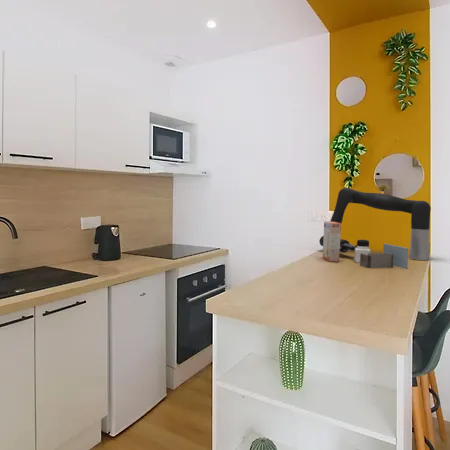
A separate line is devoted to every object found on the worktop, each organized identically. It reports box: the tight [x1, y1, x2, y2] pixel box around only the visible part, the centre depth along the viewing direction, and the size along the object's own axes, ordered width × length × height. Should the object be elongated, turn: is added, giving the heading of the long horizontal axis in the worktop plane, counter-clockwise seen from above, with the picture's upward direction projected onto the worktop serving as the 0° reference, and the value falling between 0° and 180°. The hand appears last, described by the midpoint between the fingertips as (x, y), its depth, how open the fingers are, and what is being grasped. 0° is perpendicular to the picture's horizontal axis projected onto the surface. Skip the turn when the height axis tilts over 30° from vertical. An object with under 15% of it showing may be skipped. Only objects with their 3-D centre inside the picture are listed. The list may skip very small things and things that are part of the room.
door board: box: [382, 243, 409, 270], centre depth 193 cm, size 1×18×10 cm, turn 11°
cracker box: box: [322, 221, 342, 263], centre depth 206 cm, size 14×6×21 cm, turn 179°
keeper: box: [359, 252, 394, 269], centre depth 189 cm, size 13×8×7 cm, turn 101°
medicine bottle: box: [353, 239, 372, 264], centre depth 202 cm, size 7×7×12 cm
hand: (356, 249), depth 208 cm, fingers closed
